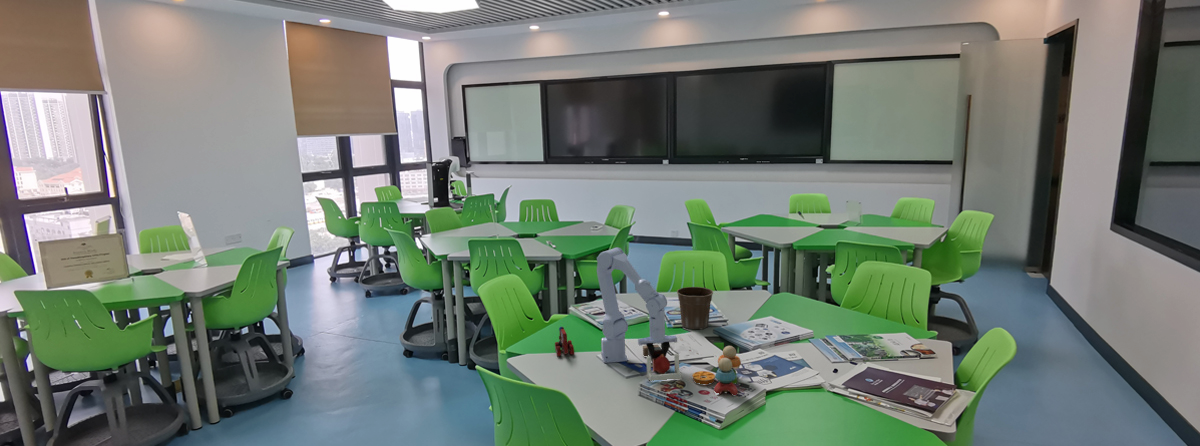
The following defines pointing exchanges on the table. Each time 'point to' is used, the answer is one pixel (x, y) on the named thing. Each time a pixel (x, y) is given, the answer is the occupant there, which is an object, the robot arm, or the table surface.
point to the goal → (663, 376)
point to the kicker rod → (655, 355)
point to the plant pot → (695, 306)
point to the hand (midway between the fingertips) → (658, 361)
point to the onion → (662, 364)
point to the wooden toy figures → (722, 372)
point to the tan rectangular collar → (645, 350)
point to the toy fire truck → (563, 344)
